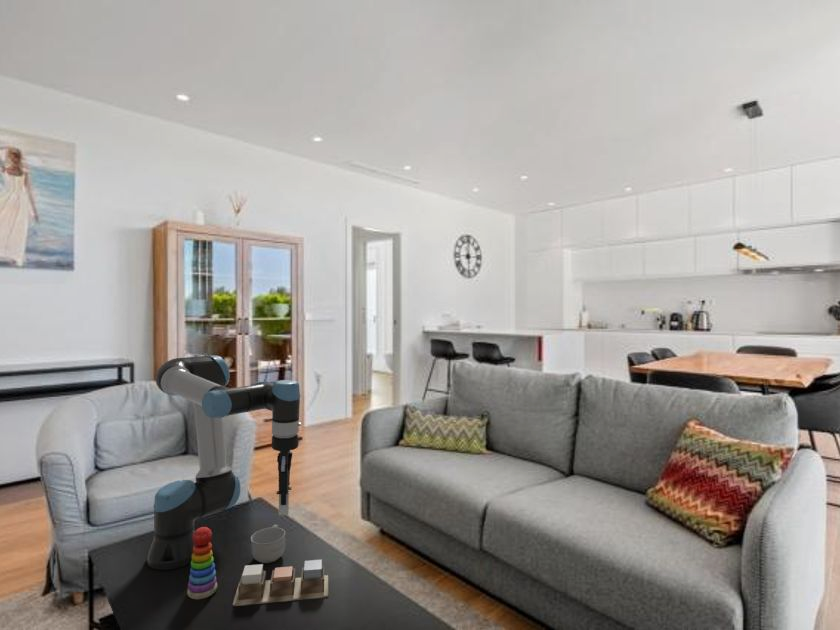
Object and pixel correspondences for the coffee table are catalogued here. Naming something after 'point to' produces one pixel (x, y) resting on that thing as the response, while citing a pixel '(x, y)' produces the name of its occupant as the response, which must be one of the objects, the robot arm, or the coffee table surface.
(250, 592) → the button board
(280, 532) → the teacup
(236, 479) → the robot arm
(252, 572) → the button cream
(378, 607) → the coffee table surface
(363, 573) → the coffee table surface
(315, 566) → the button slate
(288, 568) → the button terracotta
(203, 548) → the stacking toy
